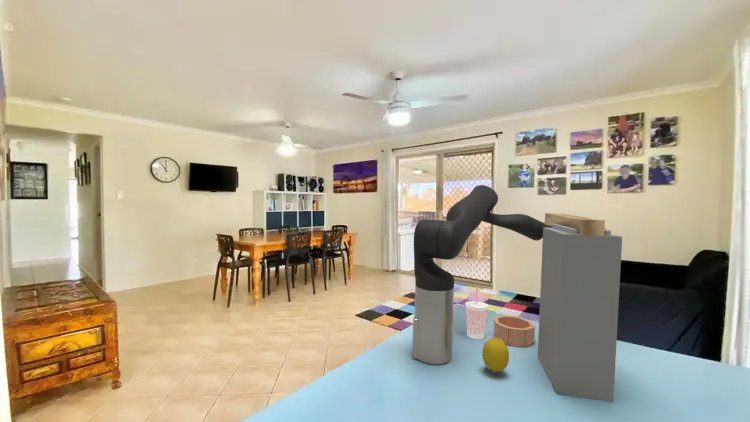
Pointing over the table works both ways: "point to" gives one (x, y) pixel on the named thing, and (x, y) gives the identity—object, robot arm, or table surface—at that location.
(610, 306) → the shelf block
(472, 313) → the beverage cup
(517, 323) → the bowl
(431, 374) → the table surface
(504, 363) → the lemon
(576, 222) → the slat
